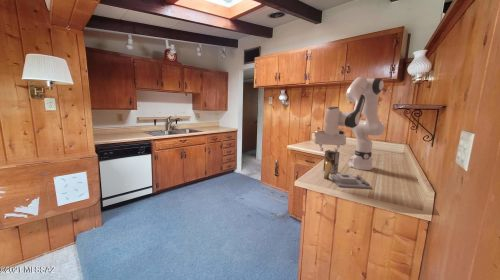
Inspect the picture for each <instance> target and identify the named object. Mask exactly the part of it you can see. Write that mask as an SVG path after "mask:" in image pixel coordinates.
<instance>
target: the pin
mask: <svg viewBox="0 0 500 280" xmlns="http://www.w3.org/2000/svg"><path fill="white" fill-rule="evenodd" d="M329 172H330V162H328V161H326V162H325V171H324V172H323V173H324V174H323V179H324V180H329V179H330V173H329Z"/></svg>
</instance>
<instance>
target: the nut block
mask: <svg viewBox="0 0 500 280" xmlns="http://www.w3.org/2000/svg"><path fill="white" fill-rule="evenodd" d="M330 178H331V179H332V181H333V182H334V183H335V184H336V186H337V187H338V188H350V189H351V188H352V189H370V190H372V189H373V187H372V186H371V185H370V183H368V181H366V180H365V179H364V178H363V177H362V176H360V174H356V176H354V175H352V173H338V172H337V173H335V174H334V175H333V174H331V175H330Z"/></svg>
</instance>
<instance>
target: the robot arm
mask: <svg viewBox="0 0 500 280" xmlns="http://www.w3.org/2000/svg"><path fill="white" fill-rule="evenodd" d="M384 86H385V82H384V80H383V79H382V78H379V77H376V78H373V77H371V78H365V76H358V77H357V78H355V79H354V80H353V81H352V83H350V85H349V87H348V88H347V90H346V92H345V97H346V99H347V100H348V101H349V102H350V103H352V104H355V105H354V108H353V111H341V110H340V107H339V106H329V107H326V111H325V115H324V116H325V117H324V126H323V130H316V131H315V132H314V139H313V140H314V141H313V142H314V144H315V145H319V148H320V152H323V151H324V147H322V146H323V145H326V146H336V148H334V151H335V152H339V151H338V150H339V149H340V147H341V146H345V145H346V144H347V136H346V131H345V130H342V129H341V128H340V129H339V126H340V127H345V128H350V131H351V132H352V133H353V134H354V136H355V139H356V146H355V151H354V154H353V155H352V156H351V157H349V161H347V162H346V163H347V165H348V166H349V168H353V169H355V170H356V169H357V170H361V171H371V170H372V169H374V168H375V167H374V166H373V157H372V155H373V154H372V153H373V152H372V151H373V150H372V148H373V142H372V140H370V139H369V137H368V136H381V135H383V133H384V131H385V124H383V123H382V122H381V121H380V119H379V117H378V108H379V107H378V106H379V97H380V96H379V95H380V93H381V92H382V91H383V89H384ZM361 115H363V116H364V117H365V119H364V120H363V119H362V120H361Z"/></svg>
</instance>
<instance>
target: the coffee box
mask: <svg viewBox="0 0 500 280" xmlns="http://www.w3.org/2000/svg"><path fill="white" fill-rule="evenodd" d="M323 160H324V161H323V172H325V162H326V161H328V162H330V172H329V174H332V175H333V174H334V175H336V173H338V172H339V162H340V152H339V151H337V152H335V150H331V149H328V150H325V151H324V159H323Z"/></svg>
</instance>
